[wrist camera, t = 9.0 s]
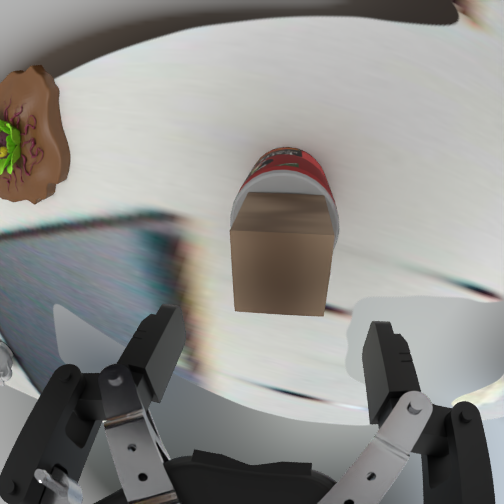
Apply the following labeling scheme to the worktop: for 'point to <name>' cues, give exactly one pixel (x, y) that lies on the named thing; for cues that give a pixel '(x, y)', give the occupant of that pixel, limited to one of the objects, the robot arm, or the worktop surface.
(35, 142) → the plant
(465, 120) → the worktop surface
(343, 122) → the worktop surface
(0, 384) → the teacup
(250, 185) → the canned food
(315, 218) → the walnut block
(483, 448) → the robot arm
